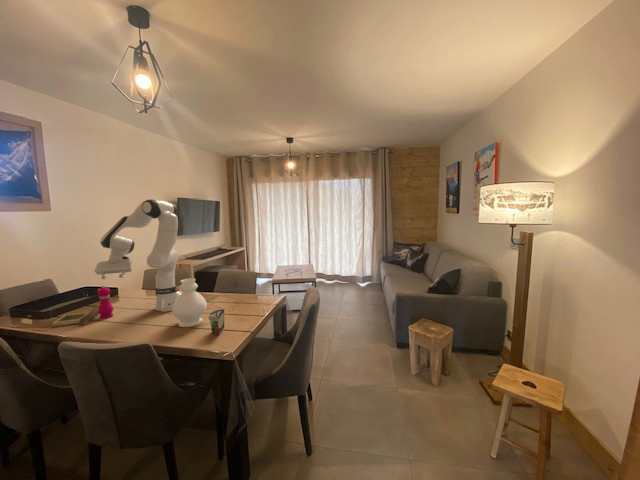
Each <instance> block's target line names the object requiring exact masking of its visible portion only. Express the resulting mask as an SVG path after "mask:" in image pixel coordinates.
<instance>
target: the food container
mask: <svg viewBox="0 0 640 480" xmlns="http://www.w3.org/2000/svg"><path fill="white" fill-rule="evenodd" d="M208 320H209V323H210V326H211V333H212V335H214V336H220V335H221V333H222V332H223V331H224V329H225V309H224V308H222V309H216V310H213V311H212V312H210V313H209V314H208Z"/></svg>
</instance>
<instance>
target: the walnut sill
mask: <svg viewBox="0 0 640 480" xmlns="http://www.w3.org/2000/svg"><path fill="white" fill-rule="evenodd" d="M98 309H99V306H96V307H94V308H93V309H92V310H90V311H88V312H89V313H87V312H86V313H87V314H86V315H85V316H83V317H82V318H80V324H79V325H80V326H81V327H82V326H83V327H84V326H86V325H89V323H91V321H93V320H94V319H95V318H97V317H98V316H100V314H99V313H98Z"/></svg>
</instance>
